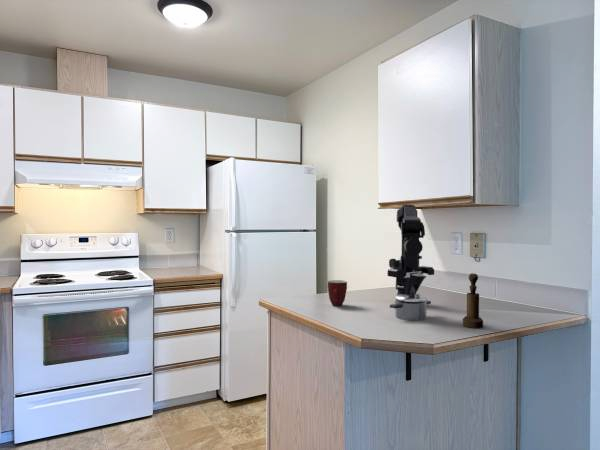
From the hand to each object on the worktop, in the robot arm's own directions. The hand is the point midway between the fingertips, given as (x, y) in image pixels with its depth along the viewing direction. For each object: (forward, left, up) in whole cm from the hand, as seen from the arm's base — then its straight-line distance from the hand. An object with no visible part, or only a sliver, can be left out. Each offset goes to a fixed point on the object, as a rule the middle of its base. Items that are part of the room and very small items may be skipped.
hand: (410, 294), depth 159 cm
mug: (+12, -30, -8) cm, 33 cm away
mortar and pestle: (-9, +20, -9) cm, 24 cm away
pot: (0, 0, -8) cm, 8 cm away
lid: (0, 0, -2) cm, 2 cm away
